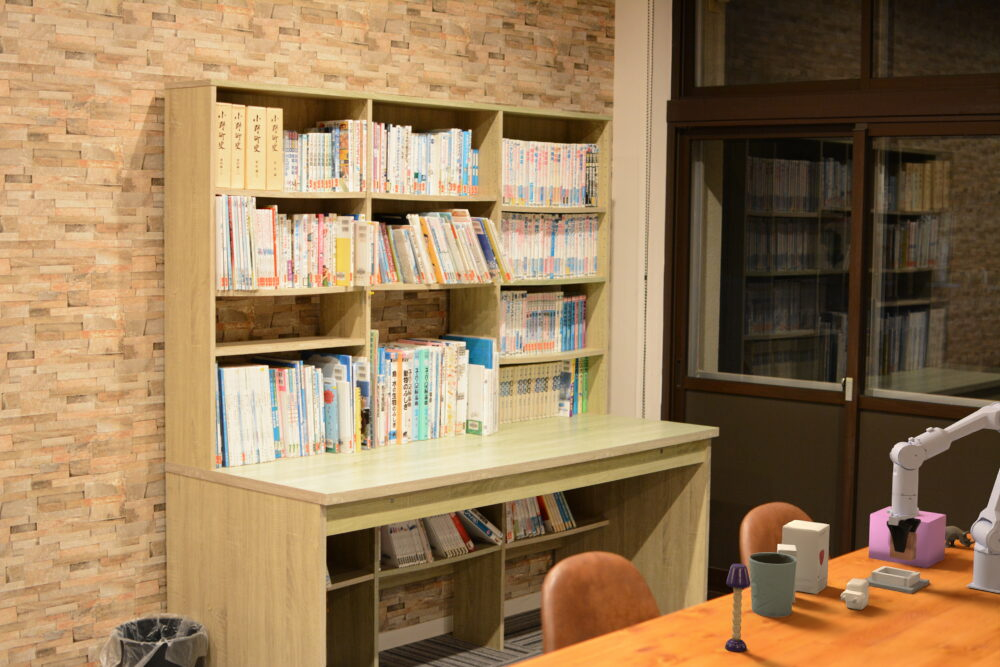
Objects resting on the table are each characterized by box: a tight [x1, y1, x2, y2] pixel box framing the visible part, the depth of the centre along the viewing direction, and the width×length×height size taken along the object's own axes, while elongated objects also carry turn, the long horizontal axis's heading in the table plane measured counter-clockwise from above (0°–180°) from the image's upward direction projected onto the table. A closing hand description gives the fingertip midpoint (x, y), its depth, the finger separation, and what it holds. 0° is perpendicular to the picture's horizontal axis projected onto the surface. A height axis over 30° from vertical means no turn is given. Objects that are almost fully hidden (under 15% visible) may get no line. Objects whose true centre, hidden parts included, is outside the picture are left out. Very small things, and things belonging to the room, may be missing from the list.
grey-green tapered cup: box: [748, 551, 797, 618], centre depth 258 cm, size 10×10×12 cm
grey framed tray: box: [864, 565, 930, 595], centre depth 282 cm, size 12×12×3 cm
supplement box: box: [781, 519, 831, 595], centre depth 278 cm, size 9×9×15 cm
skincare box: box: [776, 543, 797, 604], centre depth 268 cm, size 6×4×12 cm
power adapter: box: [840, 577, 870, 611], centre depth 261 cm, size 11×5×6 cm, turn 149°
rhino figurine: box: [945, 525, 975, 549], centre depth 320 cm, size 4×14×6 cm, turn 48°
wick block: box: [890, 532, 917, 561], centre depth 279 cm, size 4×5×6 cm
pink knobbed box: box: [868, 506, 947, 569], centre depth 306 cm, size 15×25×14 cm, turn 141°
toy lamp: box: [724, 563, 751, 652], centre depth 233 cm, size 5×5×17 cm
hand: (902, 550), depth 279 cm, fingers closed on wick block, 3 cm apart
